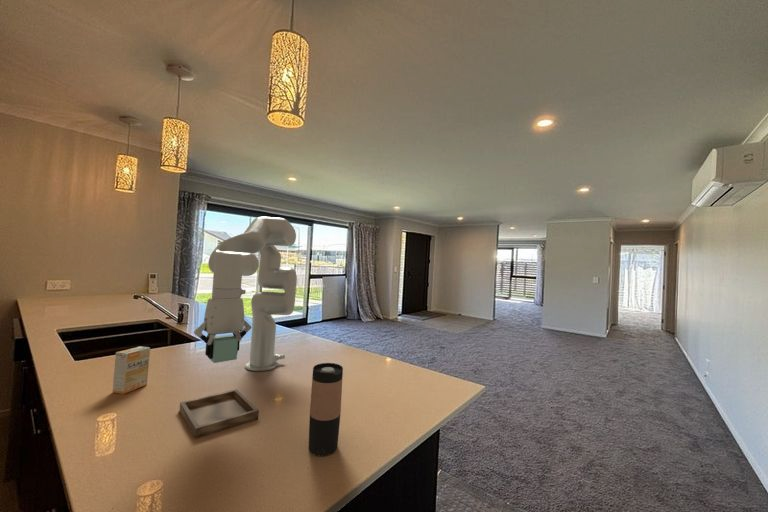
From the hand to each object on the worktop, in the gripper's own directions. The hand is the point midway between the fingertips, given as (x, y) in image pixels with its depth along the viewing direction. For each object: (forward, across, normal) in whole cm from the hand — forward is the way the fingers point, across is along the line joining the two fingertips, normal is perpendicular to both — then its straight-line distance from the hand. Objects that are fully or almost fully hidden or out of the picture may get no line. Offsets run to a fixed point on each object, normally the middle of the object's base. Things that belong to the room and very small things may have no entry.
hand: (222, 354), depth 91 cm
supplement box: (+18, +17, -35) cm, 43 cm away
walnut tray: (+17, 0, 0) cm, 17 cm away
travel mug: (+18, -15, +32) cm, 40 cm away
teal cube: (+1, 0, 0) cm, 1 cm away
